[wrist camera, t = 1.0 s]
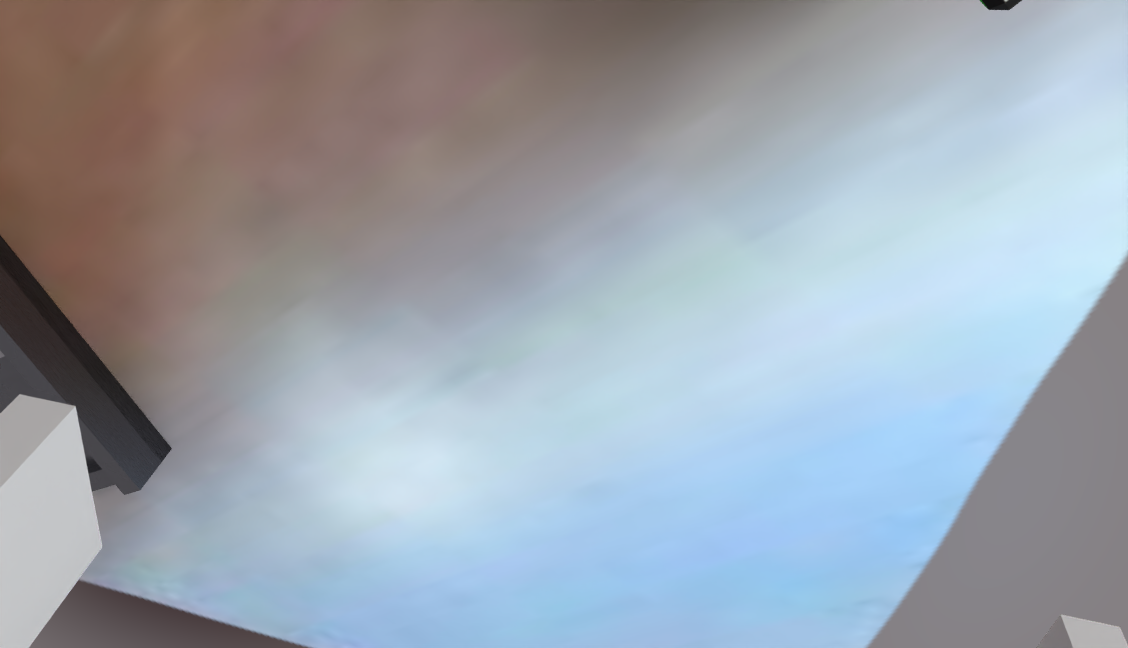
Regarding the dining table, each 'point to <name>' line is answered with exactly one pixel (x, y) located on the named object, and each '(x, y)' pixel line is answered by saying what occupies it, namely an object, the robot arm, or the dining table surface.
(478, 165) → the dining table surface
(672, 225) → the dining table surface
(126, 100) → the dining table surface
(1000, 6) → the puzzle cube
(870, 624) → the dining table surface
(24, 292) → the rack
